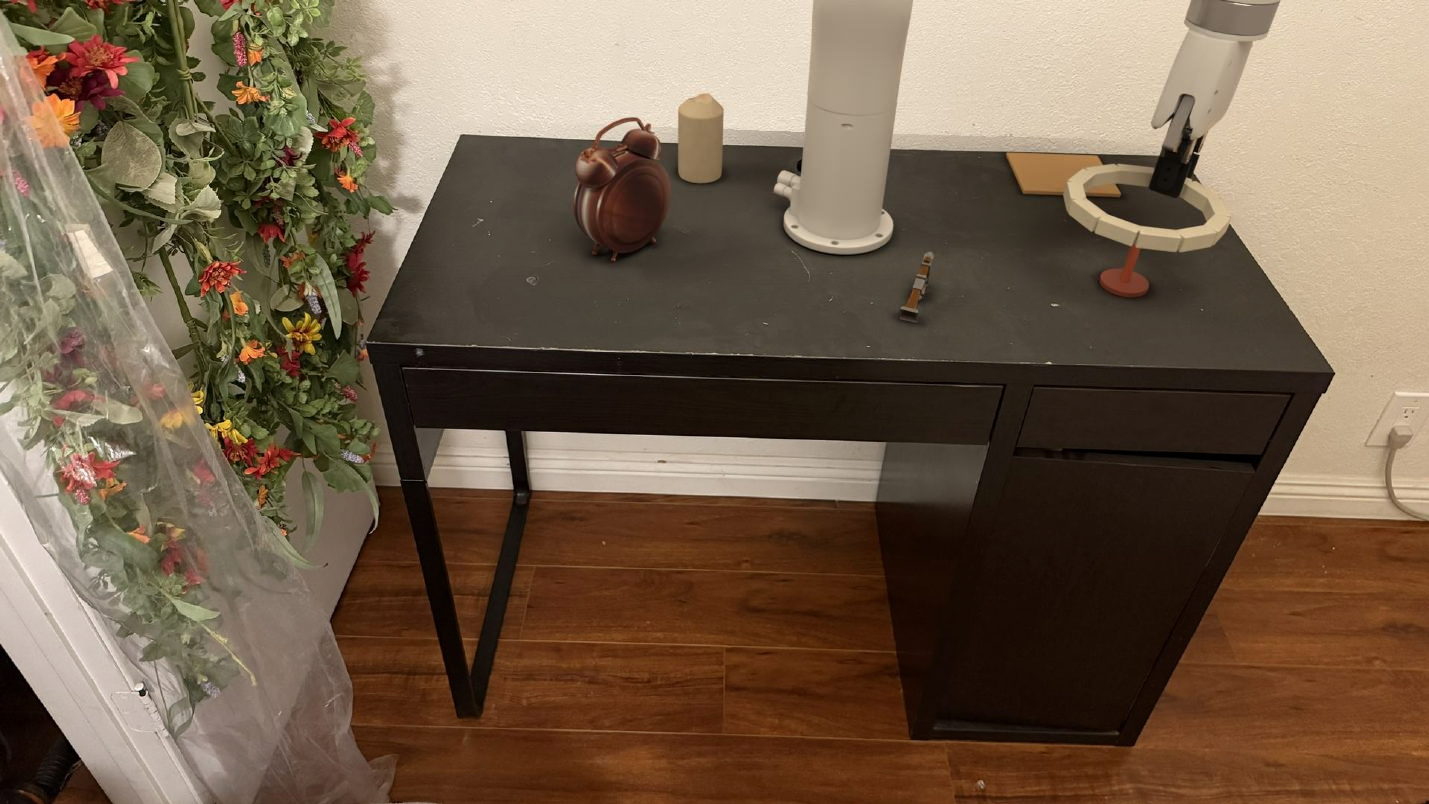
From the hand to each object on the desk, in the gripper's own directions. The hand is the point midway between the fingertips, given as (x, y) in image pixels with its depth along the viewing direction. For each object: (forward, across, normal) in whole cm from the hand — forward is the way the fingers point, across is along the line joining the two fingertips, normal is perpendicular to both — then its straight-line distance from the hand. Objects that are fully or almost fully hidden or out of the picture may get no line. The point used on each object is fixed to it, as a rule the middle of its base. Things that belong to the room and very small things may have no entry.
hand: (1167, 188), depth 106 cm
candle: (+10, +17, -50) cm, 54 cm away
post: (+9, +7, 0) cm, 11 cm away
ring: (0, +7, 0) cm, 7 cm away
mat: (+9, -14, -16) cm, 23 cm away
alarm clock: (+10, +37, -44) cm, 59 cm away
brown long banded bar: (+9, +25, -14) cm, 31 cm away
